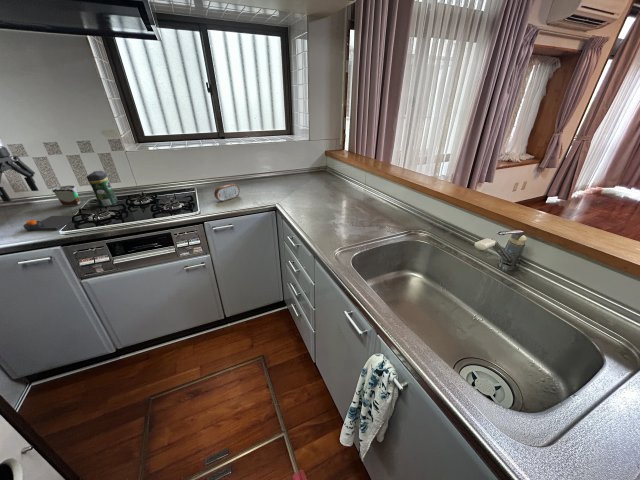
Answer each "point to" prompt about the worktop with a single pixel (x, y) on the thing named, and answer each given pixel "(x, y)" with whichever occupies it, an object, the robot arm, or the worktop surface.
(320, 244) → the worktop surface
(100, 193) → the coffee jar
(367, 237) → the worktop surface
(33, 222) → the tare button
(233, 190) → the tin
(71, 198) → the food container
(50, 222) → the scale
